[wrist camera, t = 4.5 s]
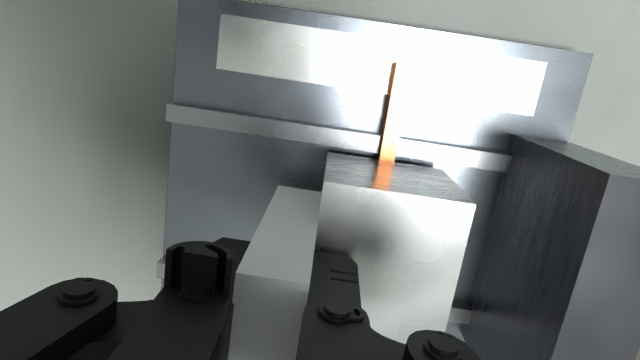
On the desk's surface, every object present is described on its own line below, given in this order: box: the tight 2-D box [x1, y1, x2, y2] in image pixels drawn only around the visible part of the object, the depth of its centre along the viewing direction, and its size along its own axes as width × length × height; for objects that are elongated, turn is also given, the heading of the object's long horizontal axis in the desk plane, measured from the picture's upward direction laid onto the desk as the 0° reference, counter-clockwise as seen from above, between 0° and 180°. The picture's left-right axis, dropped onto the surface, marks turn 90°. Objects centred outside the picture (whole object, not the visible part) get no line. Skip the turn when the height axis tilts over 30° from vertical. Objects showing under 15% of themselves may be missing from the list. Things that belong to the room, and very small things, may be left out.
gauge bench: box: [157, 0, 640, 360], centre depth 15 cm, size 14×14×7 cm
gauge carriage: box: [314, 62, 476, 344], centre depth 14 cm, size 8×4×4 cm, turn 172°
